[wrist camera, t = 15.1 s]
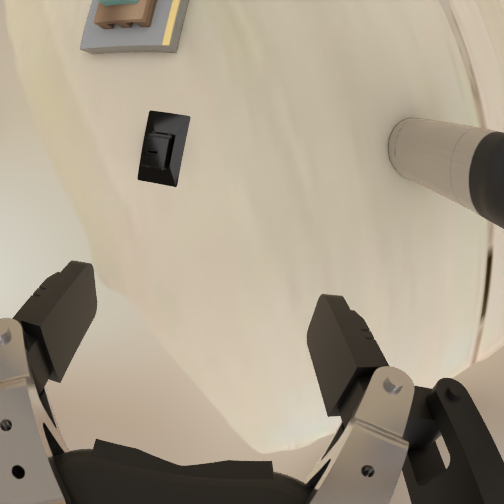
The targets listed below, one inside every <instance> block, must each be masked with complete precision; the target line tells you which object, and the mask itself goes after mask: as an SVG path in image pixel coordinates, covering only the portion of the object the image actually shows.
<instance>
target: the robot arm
mask: <svg viewBox="0 0 504 504" xmlns="http://www.w3.org/2000/svg"><path fill="white" fill-rule="evenodd" d="M388 147H389V156H390V160H391V162H392V165H393V167H394V168H395V169H396V171H397V172H398V173H399V174H400V175H402V176H404V177H406V178H408V179H410V180H412V181H414V182H416V183H418V184H420V185H423V186H425V187H427V188H429V189H431V190H433V191H435V192H437V193H439V194H441V195H443V196H445V197H447V198H449V199H451V200H453V201H455V202H457V203H459V204H460V205H462V206H464V207H466V208H468V209H470V210H472V211H474V212H475V213H477V214H479V215H481V216H482V217H484V218H485V219H487V220H489V221H491V222H493V223H494V224H496V225H498V226H500V227H502V228H503V229H504V133H502V132H497V131H493V130H488V129H483V128H477V127H472V126H466V125H460V124H454V123H448V122H441V121H433V120H426V119H417V118H409V119H406V120H403V121H401V122H400V123H399V124H398V125H397V126H396V127H395V128H394V130H393V131H392V133H391V136H390V139H389V146H388ZM96 310H97V297H96V289H95V279H94V269H93V266H92V264H90V263H85V262H78V261H71V262H69V264H68V265H67V266H66V267H65V268H64V269H63V270H62V271H61V272H57V273H55V274H53V275H52V276H50V277H48V278H47V279H46V280H45V281H44V282H43V283H42V284H41V285H40V287H39V288H38V289H37V290H36V291H35V292H34V293H33V296H31V297H30V298H29V299H28V300H27V302H26V303H25V304H24V305H23V306H22V308H21V309H20V310H19V311H18V312H17V313H16V315H15V316H14V317H13V318H12V319H11V318H2V319H0V504H389V503H390V500H391V497H392V495H393V493H394V490H395V487H396V485H397V482H398V479H399V476H400V473H401V470H402V471H403V475H404V478H405V481H406V485H407V488H408V492H409V495H410V499H411V503H412V504H504V462H503V460H502V458H501V455H500V453H499V451H498V449H497V447H496V445H495V443H494V441H493V439H492V436H491V434H490V432H489V430H488V429H487V427H486V425H485V423H484V421H483V419H482V417H481V415H480V413H479V411H478V410H477V408H476V406H475V404H474V402H473V400H472V399H471V397H470V395H469V393H468V392H467V390H466V389H465V387H464V386H463V385H462V384H461V383H459V382H458V381H456V380H454V379H451V378H442V379H440V380H439V381H438V382H437V384H436V385H435V386H434V388H433V389H430V388H424V387H419V386H414V384H413V381H412V380H411V378H410V377H409V376H408V375H407V374H406V373H405V372H403V371H402V370H400V369H398V368H395V367H390V366H389V365H388V363H387V361H386V359H385V357H384V355H383V353H382V351H381V350H380V348H379V346H378V344H377V342H376V340H374V337H373V335H372V333H371V331H369V328H368V326H367V324H366V322H365V320H364V319H363V318H362V317H361V316H360V315H358V314H357V313H356V312H355V311H353V310H350V308H349V306H348V304H347V303H346V301H345V299H344V297H343V296H338V295H327V294H322V295H321V296H320V297H319V299H318V302H317V305H316V308H315V311H314V314H313V316H312V319H311V322H310V325H309V328H308V332H307V345H308V348H309V352H310V355H311V359H312V362H313V366H314V369H315V373H316V376H317V379H318V383H319V387H320V390H321V394H322V397H323V401H324V404H325V408H326V411H327V415H328V417H329V416H341V419H342V422H341V424H340V425H339V426H338V428H337V430H336V432H335V434H334V435H333V437H332V439H331V441H330V443H329V444H328V446H327V448H326V449H325V451H324V453H323V454H322V456H321V458H320V459H319V461H318V463H317V464H316V466H315V467H314V469H313V470H312V471H311V473H310V474H309V475H308V476H307V478H306V479H305V481H304V482H301V481H299V480H298V479H295V478H293V477H290V476H288V475H284V474H281V473H277V472H273V466H272V461H231V460H227V461H221V462H215V463H207V464H199V465H190V466H180V465H176V464H173V463H171V462H168V461H165V460H163V459H160V458H158V457H155V456H152V455H150V454H148V453H145V452H143V451H141V450H139V449H136V448H131V447H126V446H122V445H118V444H114V443H110V442H106V441H102V440H98V439H96V441H95V444H94V448H93V449H80V450H74V451H69V449H68V447H67V445H66V443H65V441H64V439H63V437H62V435H61V432H60V429H59V426H58V423H57V421H56V418H55V415H54V412H53V409H52V405H51V402H50V399H49V395H48V392H47V389H46V387H45V385H46V383H47V381H48V379H50V380H53V381H56V382H59V383H60V382H61V380H62V378H63V376H64V374H65V372H66V370H67V368H68V366H69V364H70V362H71V360H72V358H73V356H74V354H75V352H76V350H77V348H78V347H79V345H80V343H81V341H82V339H83V337H84V335H85V333H86V332H87V330H88V328H89V326H90V324H91V322H92V321H93V319H94V317H95V314H96ZM441 435H442V437H443V439H444V441H445V444H446V446H447V449H448V451H449V454H450V464H449V466H448V468H447V469H446V468H445V466H444V463H443V460H442V458H441V455H440V452H439V450H438V447H437V445H436V442H435V440H436V439H437V438H438V437H439V436H441Z"/></svg>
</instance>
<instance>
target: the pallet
mask: <svg viewBox="0 0 504 504" xmlns="http://www.w3.org/2000/svg"><path fill="white" fill-rule="evenodd" d="M156 4H157V0H139V1H138V3H134V4H121V5H111V6H104V5H103V4H102V3H100V2H99V4H98V7H97V11H96V14H95V18H94V21H93V23H94V24H96V25H98V26H99V27H101V28H103V29H105V30H106V29H114V25H115V23H116V24H117V25H118V26H120V27H121V28H132V24H133V22H135V23H136V24H138V25H139V26H140V27H151V23H152V19H153V15H154V11H155V7H156Z"/></svg>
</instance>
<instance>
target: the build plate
mask: <svg viewBox="0 0 504 504" xmlns="http://www.w3.org/2000/svg"><path fill="white" fill-rule="evenodd" d="M189 122H190V116H185V115H179V114H172V113H165V112H157V111H150V112H149V116H148V121H147V126H146V131H145V136H144V141H143V147H142V153H141V159H140V165H139V172H138V180H141V181H147V182H152V183H158V184H163V185H169V186H174V187H176V186H177V183H178V177H179V172H180V166H181V161H182V156H183V151H184V146H185V141H186V136H187V131H188V126H189Z"/></svg>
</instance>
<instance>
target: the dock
mask: <svg viewBox="0 0 504 504" xmlns="http://www.w3.org/2000/svg"><path fill="white" fill-rule="evenodd" d="M188 1H189V0H157V4H156V7H155V11H154V15H153V19H152V23H151V27H140V26H139V25H138V24H136V23H135V22H133V24H132V28H121V27H120V26H118V25H117V24H116V23H115V25H114V29H106V30H105V29H103V28H101V27H99V26H98V25H96V24H94V23H93V21H94V18H95V14H96V11H97V7H98V4H99V1H97V0H92V4H91V7H90V10H89V14H88V17H87V21H86V25H85V29H84V33H83V37H82V41H81V46H80V50H83V51H86V52H89V53H92V54H98V53H114V52H177V48H178V43H179V39H180V34H181V30H182V25H183V21H184V17H185V13H186V9H187V5H188Z"/></svg>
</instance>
